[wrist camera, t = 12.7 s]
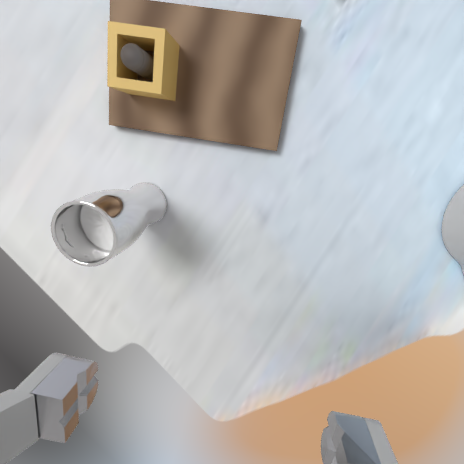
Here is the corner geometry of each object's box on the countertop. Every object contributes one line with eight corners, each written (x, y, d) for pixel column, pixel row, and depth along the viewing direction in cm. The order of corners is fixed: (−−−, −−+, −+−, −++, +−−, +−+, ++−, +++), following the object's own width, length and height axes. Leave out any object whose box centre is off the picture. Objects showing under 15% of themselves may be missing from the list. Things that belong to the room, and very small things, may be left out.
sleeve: (179, 45, 33) (165, 28, 28) (175, 101, 35) (161, 94, 30) (130, 38, 33) (107, 21, 28) (128, 94, 35) (107, 86, 30)
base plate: (299, 25, 32) (311, -13, 24) (276, 150, 36) (279, 152, 29) (116, 1, 33) (72, -42, 26) (114, 125, 38) (76, 120, 30)
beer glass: (168, 179, 39) (114, 200, 25) (171, 227, 41) (122, 271, 27) (121, 178, 40) (42, 197, 26) (126, 225, 42) (55, 266, 28)
